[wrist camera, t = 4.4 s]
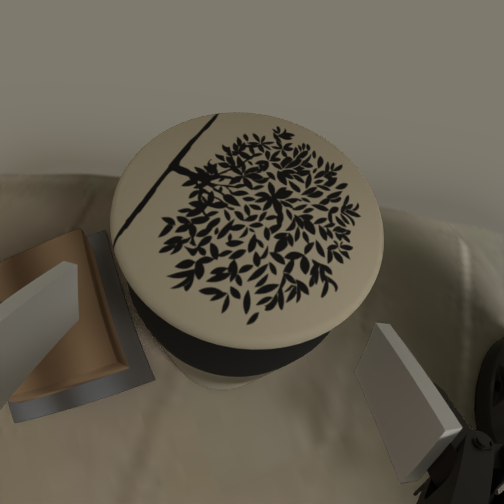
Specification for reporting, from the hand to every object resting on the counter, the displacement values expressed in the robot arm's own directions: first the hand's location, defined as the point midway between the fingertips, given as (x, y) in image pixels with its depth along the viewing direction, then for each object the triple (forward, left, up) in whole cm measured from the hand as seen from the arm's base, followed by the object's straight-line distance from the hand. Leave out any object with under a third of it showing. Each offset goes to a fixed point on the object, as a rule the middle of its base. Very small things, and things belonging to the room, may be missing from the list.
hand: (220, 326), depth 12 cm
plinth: (+12, -7, -12) cm, 18 cm away
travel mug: (-1, -1, -12) cm, 12 cm away
